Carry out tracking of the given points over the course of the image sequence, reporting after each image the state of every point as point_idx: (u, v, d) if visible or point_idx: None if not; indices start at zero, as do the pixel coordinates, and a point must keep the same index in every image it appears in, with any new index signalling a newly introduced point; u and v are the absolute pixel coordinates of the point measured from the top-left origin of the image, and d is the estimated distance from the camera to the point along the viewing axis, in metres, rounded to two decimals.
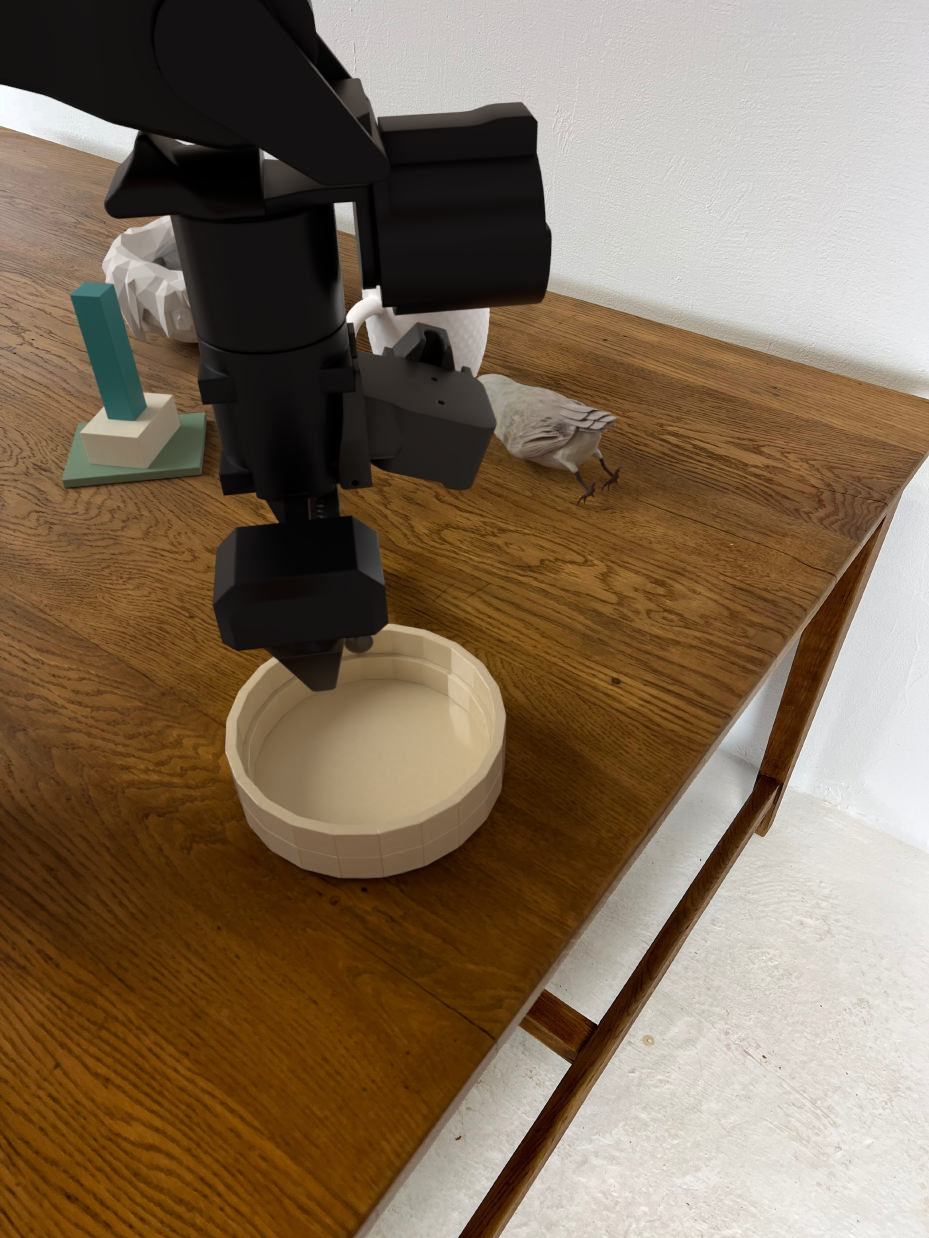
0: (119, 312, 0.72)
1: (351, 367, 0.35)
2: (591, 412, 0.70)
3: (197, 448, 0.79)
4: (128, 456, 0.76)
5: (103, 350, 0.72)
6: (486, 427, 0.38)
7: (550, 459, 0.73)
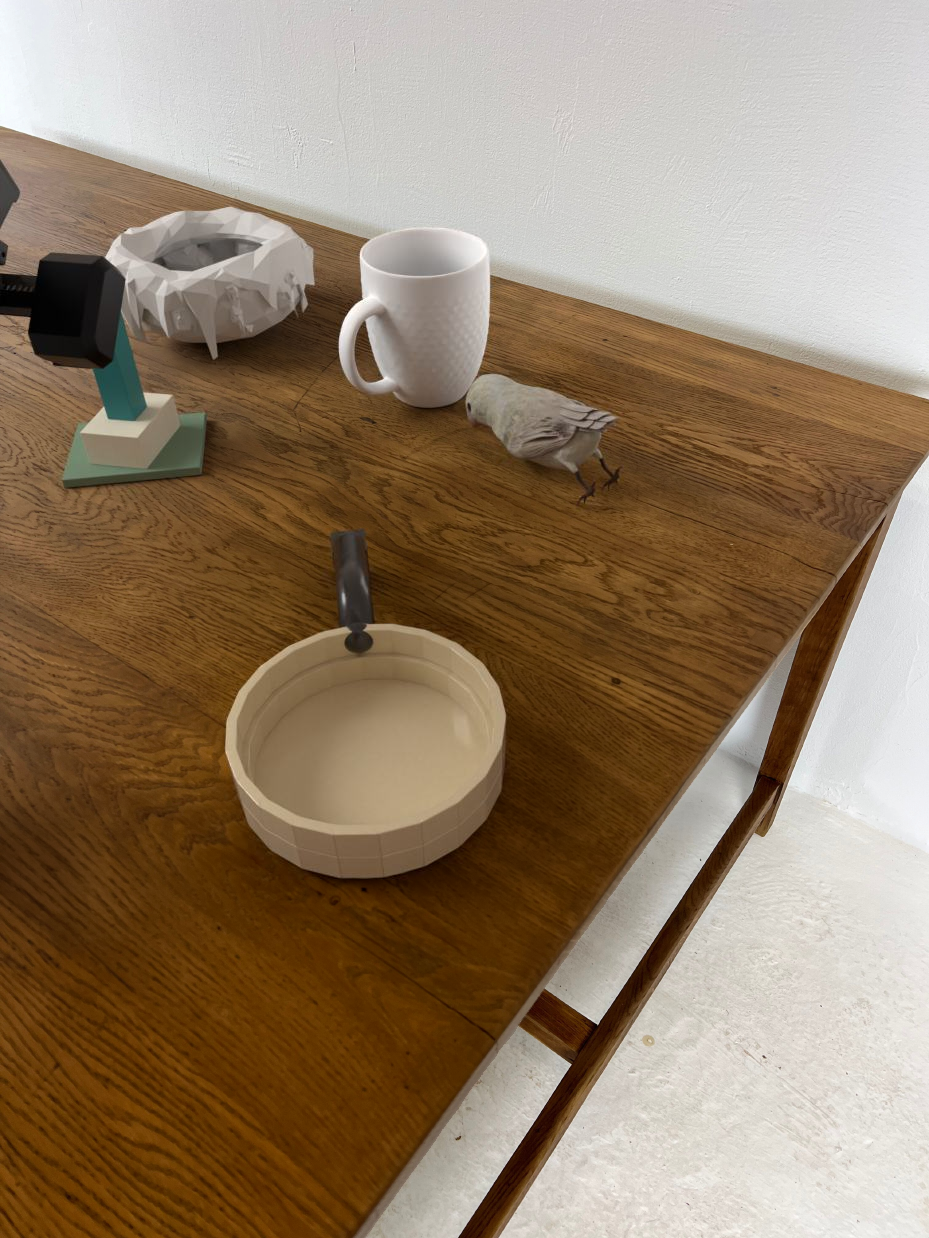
0: None
1: None
2: (591, 412, 0.70)
3: (197, 448, 0.79)
4: (128, 456, 0.76)
5: None
6: None
7: (550, 459, 0.74)
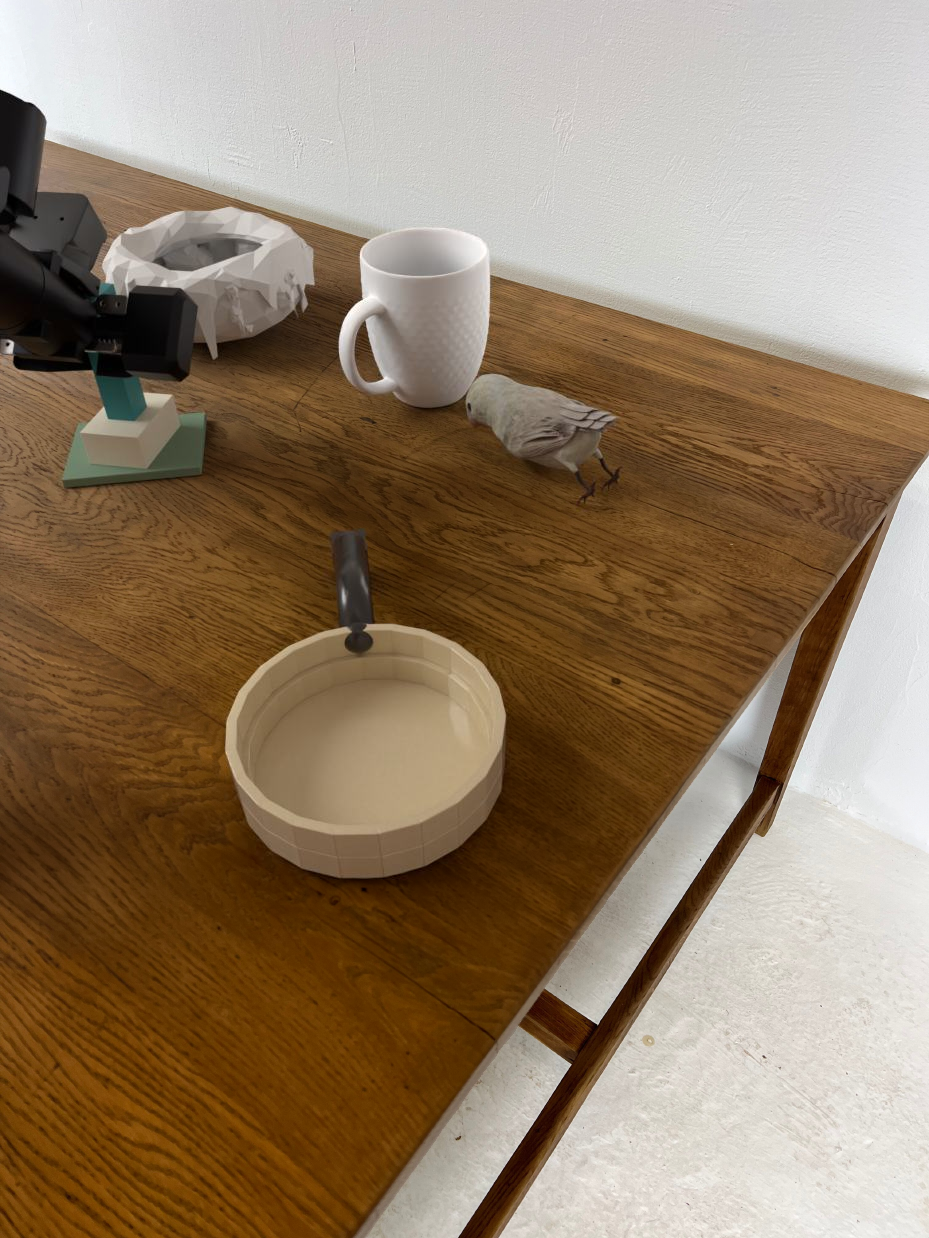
0: None
1: (52, 253, 0.61)
2: (591, 412, 0.70)
3: (197, 448, 0.79)
4: (128, 456, 0.76)
5: None
6: (86, 200, 0.65)
7: (550, 459, 0.74)
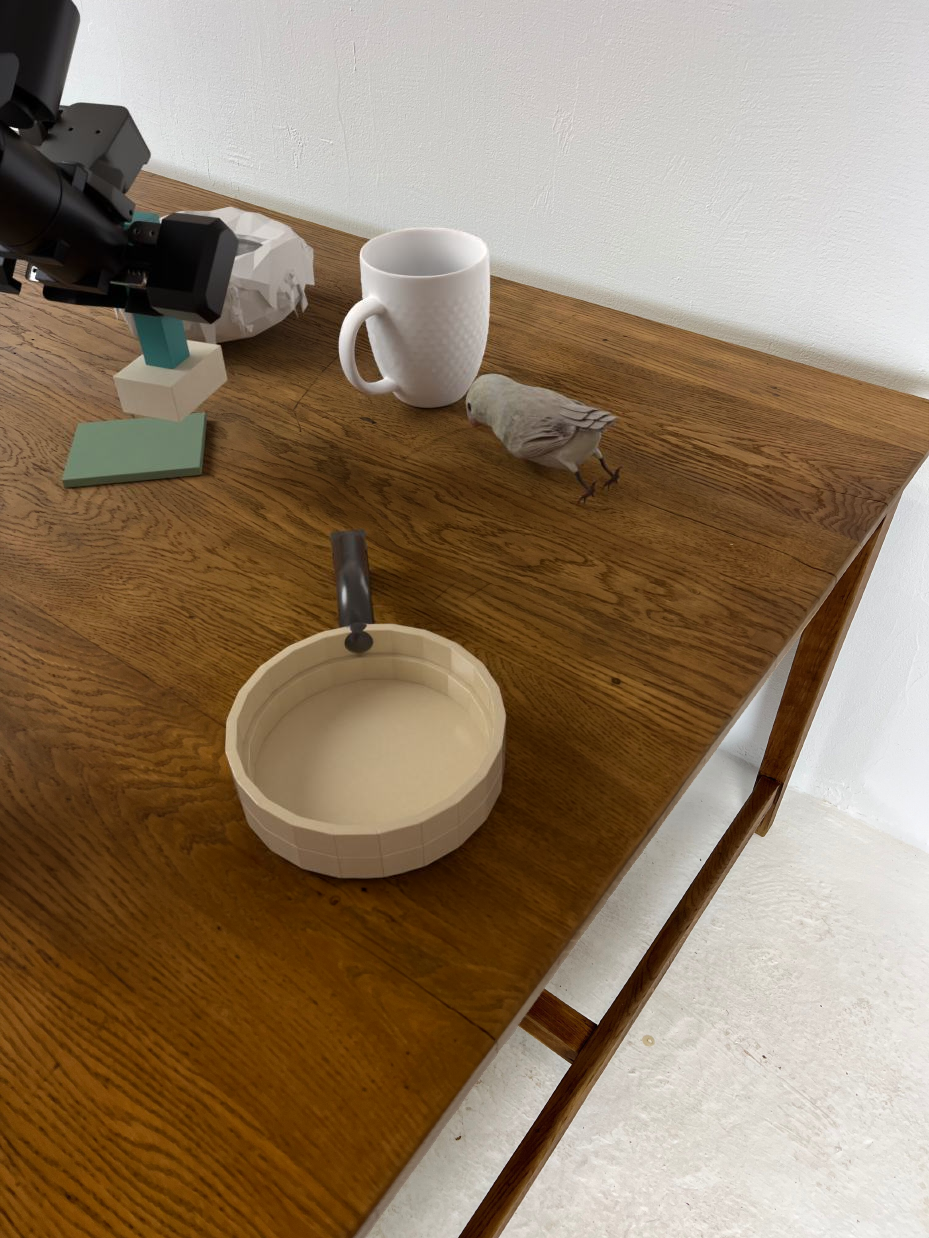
0: None
1: (76, 165, 0.55)
2: (591, 412, 0.70)
3: (197, 448, 0.79)
4: (161, 407, 0.69)
5: None
6: (127, 113, 0.58)
7: (550, 459, 0.74)
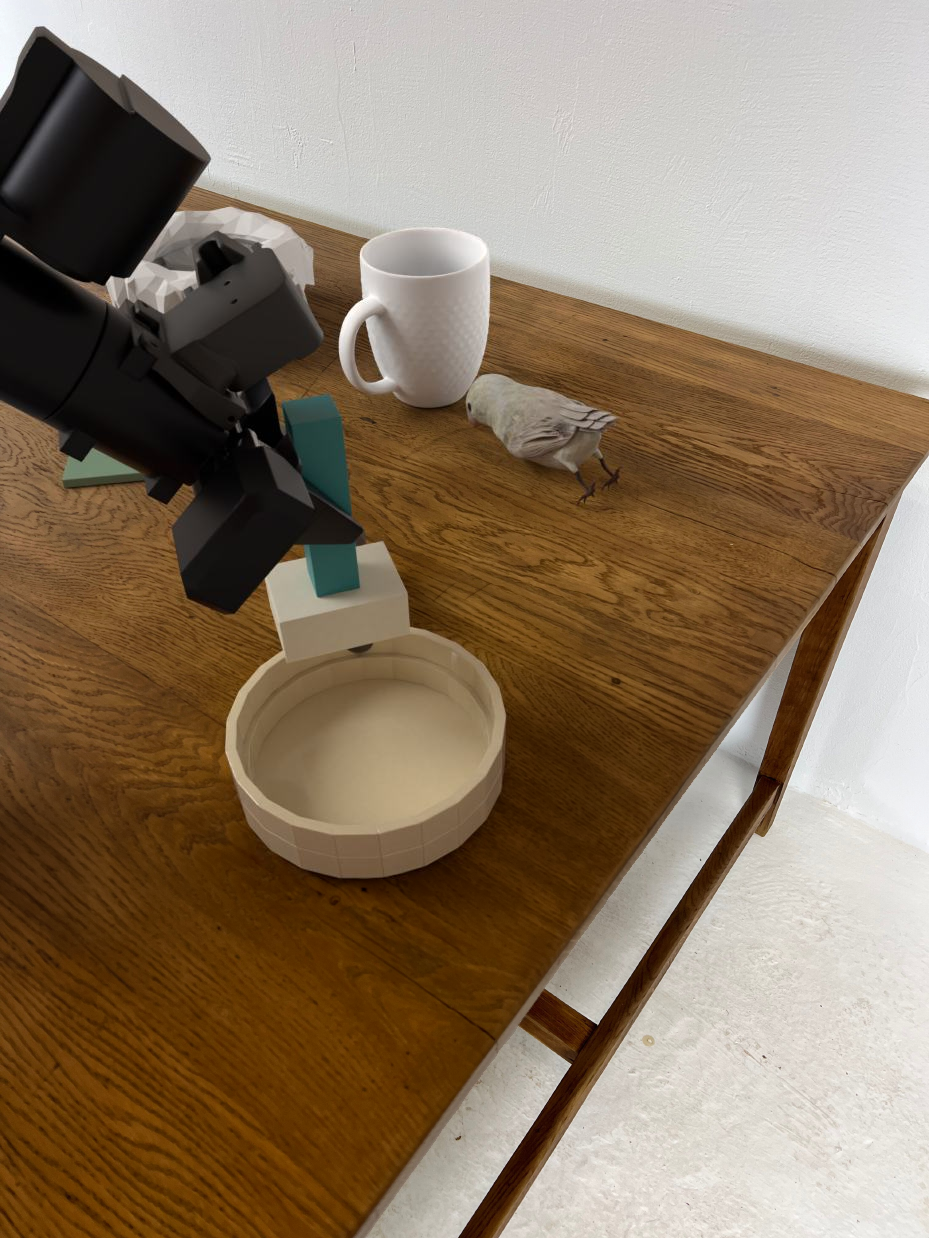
0: (339, 457, 0.45)
1: (134, 346, 0.37)
2: (591, 412, 0.70)
3: None
4: (279, 633, 0.51)
5: None
6: (276, 289, 0.38)
7: (550, 459, 0.74)
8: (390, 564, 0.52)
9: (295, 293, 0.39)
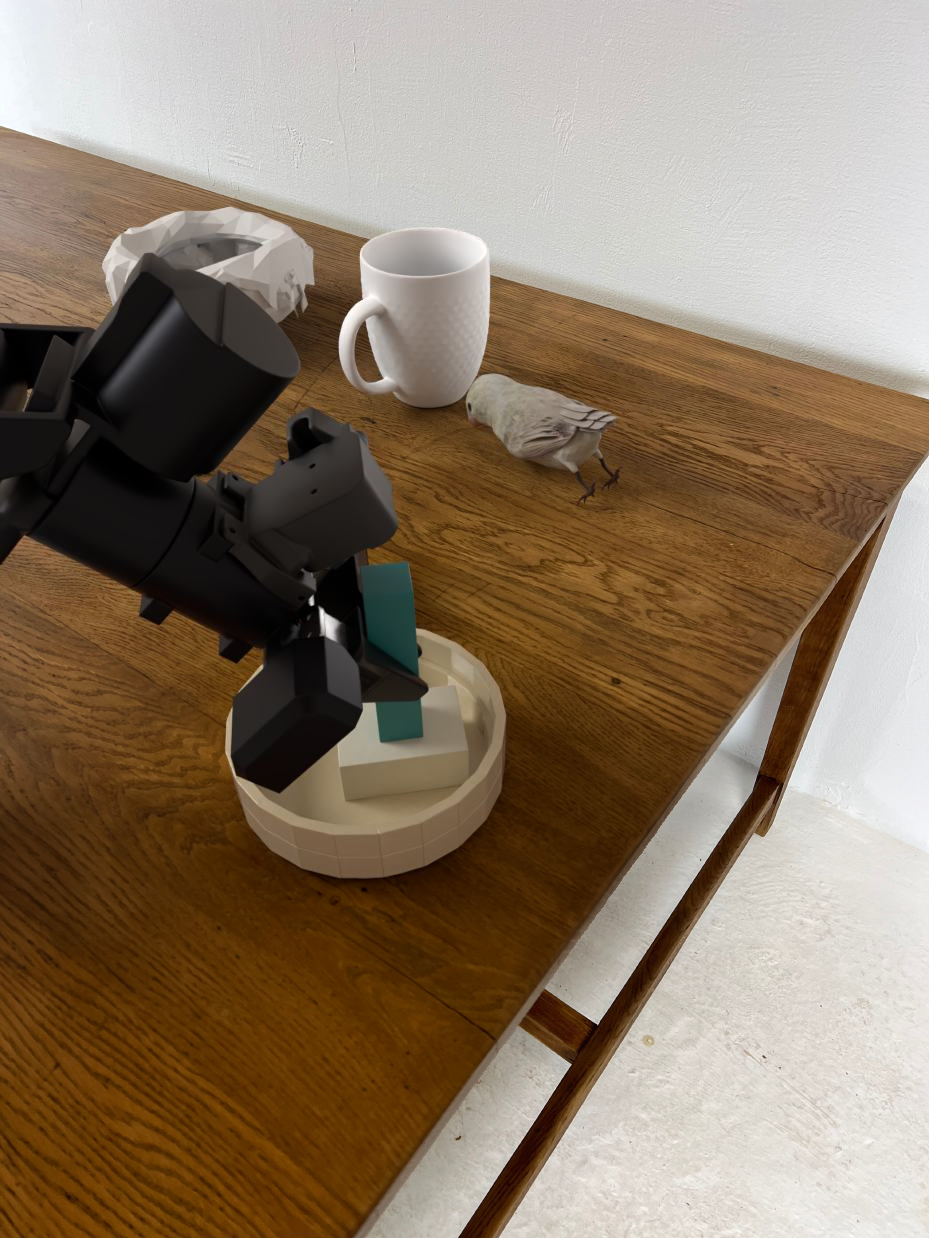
0: (409, 626, 0.46)
1: (213, 533, 0.39)
2: (591, 412, 0.70)
3: None
4: None
5: None
6: (352, 488, 0.39)
7: (550, 459, 0.74)
8: (457, 713, 0.53)
9: (372, 490, 0.39)
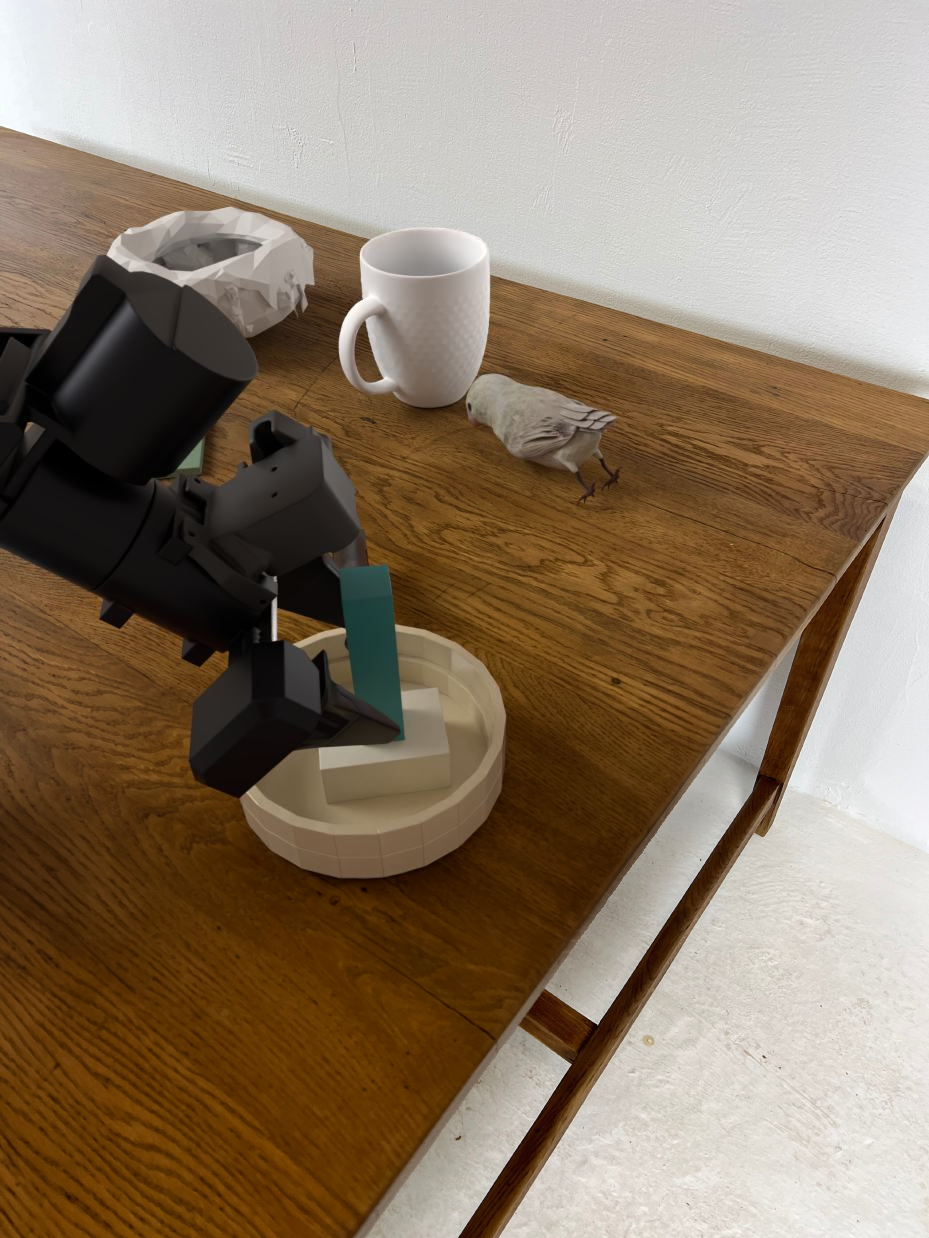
0: (389, 629, 0.46)
1: (172, 536, 0.39)
2: (591, 412, 0.70)
3: (197, 448, 0.79)
4: None
5: None
6: (311, 492, 0.38)
7: (550, 459, 0.74)
8: (439, 716, 0.52)
9: (332, 493, 0.39)
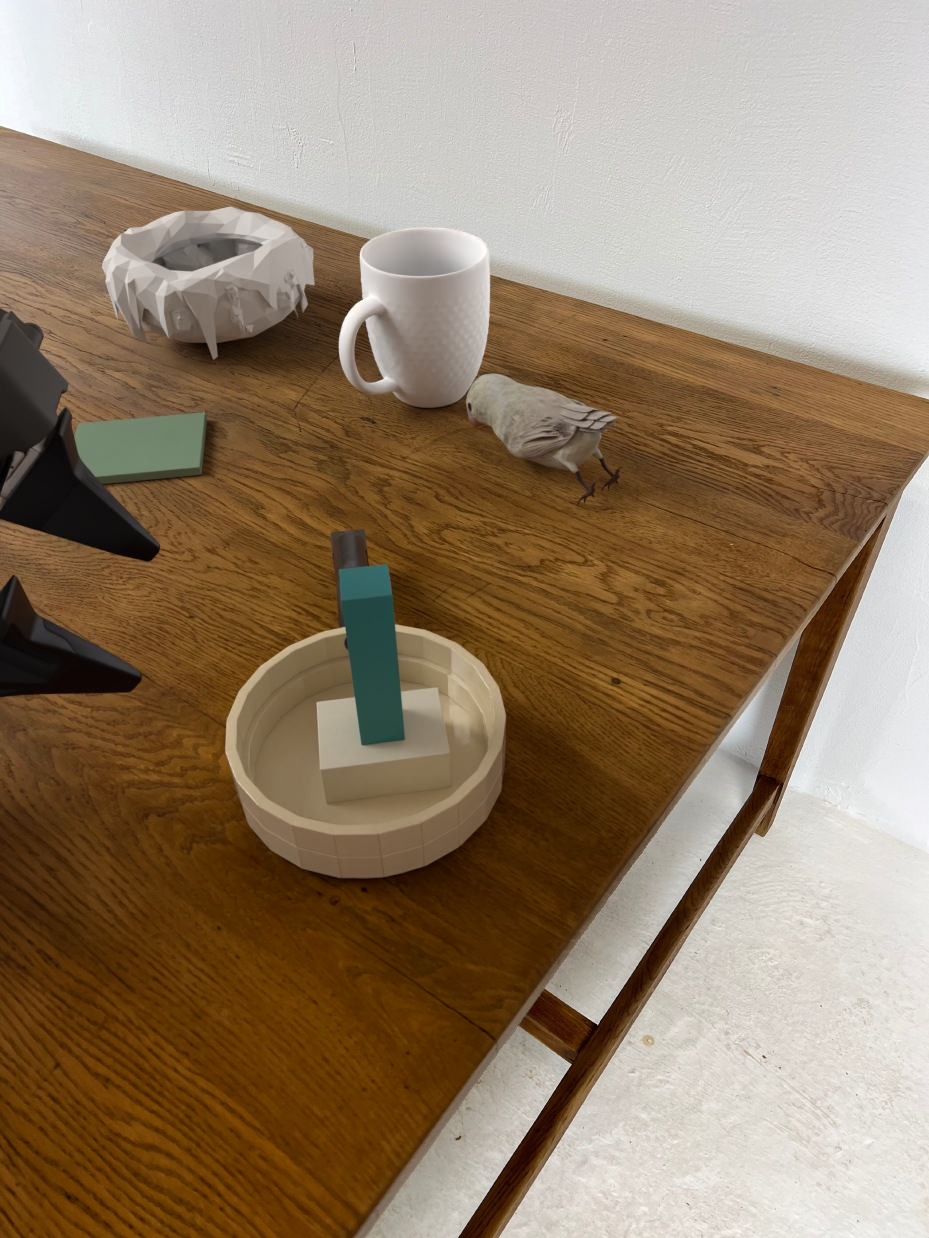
0: (389, 629, 0.46)
1: None
2: (591, 412, 0.70)
3: (197, 448, 0.79)
4: None
5: None
6: None
7: (550, 459, 0.74)
8: (439, 716, 0.52)
9: (9, 379, 0.34)
